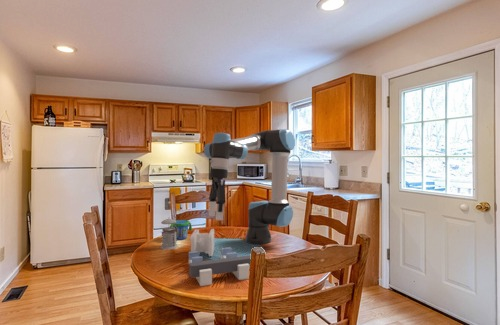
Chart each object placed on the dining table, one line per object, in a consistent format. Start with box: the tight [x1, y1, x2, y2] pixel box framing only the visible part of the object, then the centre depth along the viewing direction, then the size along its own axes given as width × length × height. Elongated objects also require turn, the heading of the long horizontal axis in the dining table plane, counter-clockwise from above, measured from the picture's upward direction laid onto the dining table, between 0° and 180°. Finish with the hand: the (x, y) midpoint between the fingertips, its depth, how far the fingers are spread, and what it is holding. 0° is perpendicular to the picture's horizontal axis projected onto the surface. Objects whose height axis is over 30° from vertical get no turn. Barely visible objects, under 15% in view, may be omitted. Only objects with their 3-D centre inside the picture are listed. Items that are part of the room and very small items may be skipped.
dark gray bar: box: [188, 254, 250, 279], centre depth 121 cm, size 26×4×4 cm, turn 111°
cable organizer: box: [189, 228, 215, 257], centre depth 151 cm, size 15×11×12 cm
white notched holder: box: [188, 246, 251, 287], centre depth 129 cm, size 20×26×6 cm
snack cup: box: [169, 219, 193, 241], centre depth 181 cm, size 16×10×10 cm
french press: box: [159, 201, 179, 251], centre depth 163 cm, size 10×12×25 cm
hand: (215, 218), depth 128 cm, fingers open, 13 cm apart
